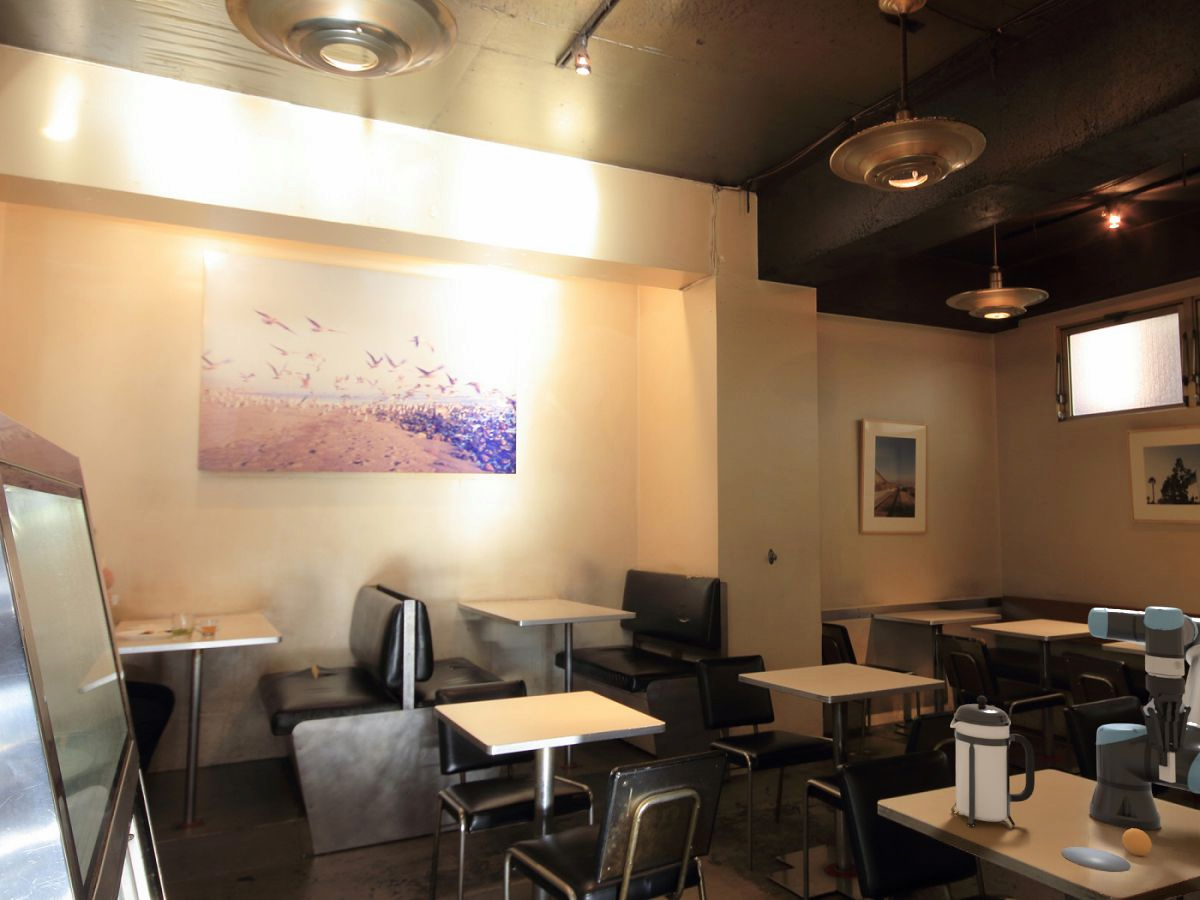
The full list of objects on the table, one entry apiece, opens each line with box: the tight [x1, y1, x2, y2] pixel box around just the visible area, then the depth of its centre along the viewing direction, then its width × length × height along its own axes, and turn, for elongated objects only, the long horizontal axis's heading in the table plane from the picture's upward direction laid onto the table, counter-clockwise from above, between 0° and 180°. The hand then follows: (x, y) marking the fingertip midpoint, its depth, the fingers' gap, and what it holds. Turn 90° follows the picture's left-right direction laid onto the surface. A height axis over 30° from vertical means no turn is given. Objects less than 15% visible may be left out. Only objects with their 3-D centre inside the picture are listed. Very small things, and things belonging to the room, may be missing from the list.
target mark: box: [1061, 846, 1132, 872], centre depth 184 cm, size 13×13×1 cm
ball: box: [1122, 828, 1153, 857], centre depth 188 cm, size 6×6×6 cm
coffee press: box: [950, 695, 1036, 830], centre depth 208 cm, size 17×16×30 cm
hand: (1167, 780), depth 192 cm, fingers closed
